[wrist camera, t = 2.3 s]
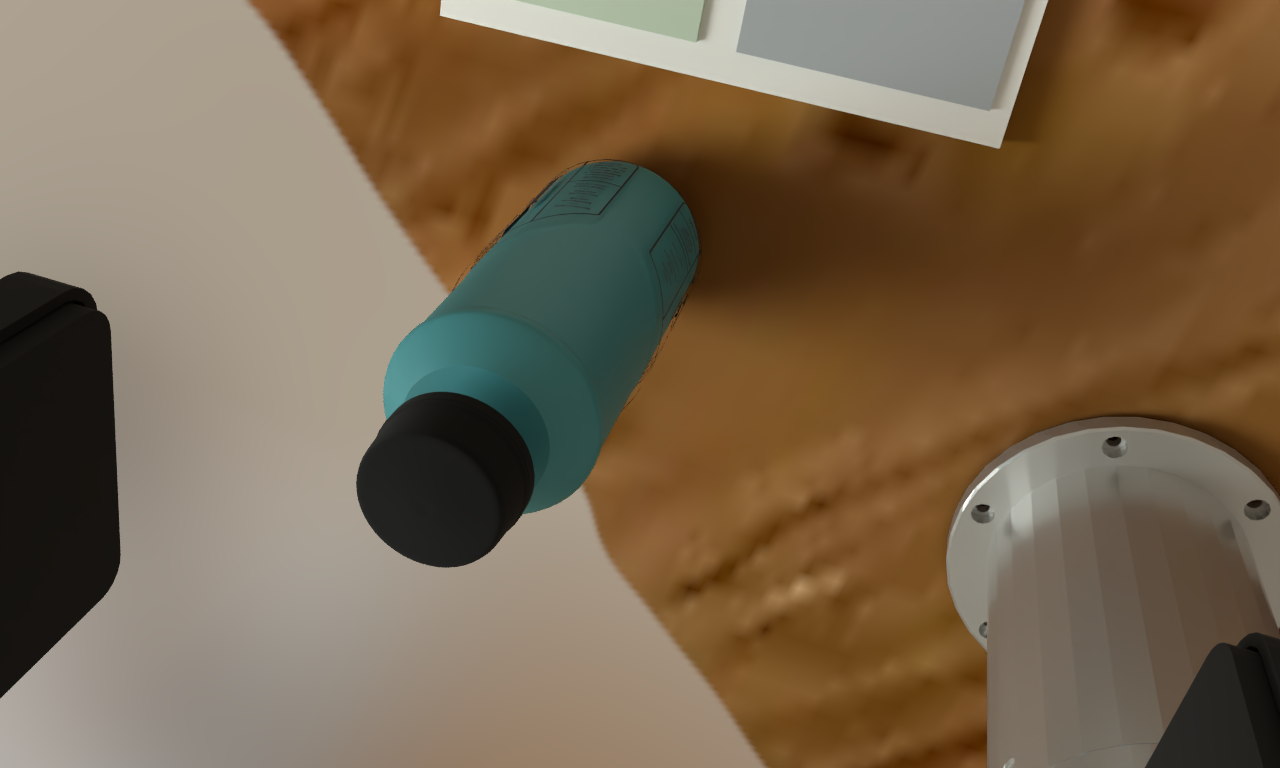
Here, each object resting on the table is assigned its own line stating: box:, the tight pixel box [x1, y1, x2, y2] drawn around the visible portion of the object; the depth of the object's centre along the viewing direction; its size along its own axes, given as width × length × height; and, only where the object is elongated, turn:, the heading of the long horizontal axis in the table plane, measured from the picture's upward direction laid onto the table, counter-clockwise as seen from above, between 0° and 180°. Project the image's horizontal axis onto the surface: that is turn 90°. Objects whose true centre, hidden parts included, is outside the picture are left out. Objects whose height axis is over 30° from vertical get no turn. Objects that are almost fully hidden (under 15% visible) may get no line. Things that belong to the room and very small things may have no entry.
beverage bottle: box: [356, 159, 702, 568], centre depth 38 cm, size 6×7×20 cm
